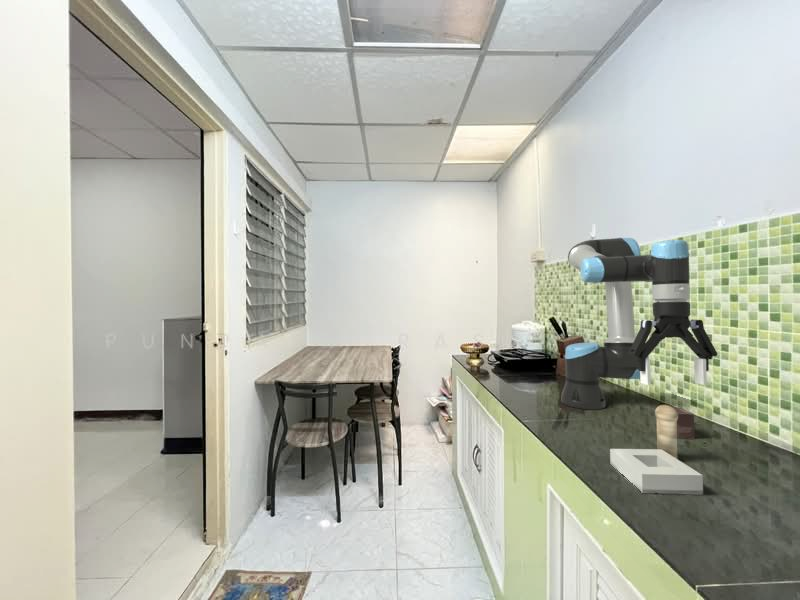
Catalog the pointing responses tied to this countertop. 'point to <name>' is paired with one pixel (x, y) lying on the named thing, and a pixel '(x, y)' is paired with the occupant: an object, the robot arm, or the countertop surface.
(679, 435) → the box
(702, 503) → the countertop surface
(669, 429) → the pestle
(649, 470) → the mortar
